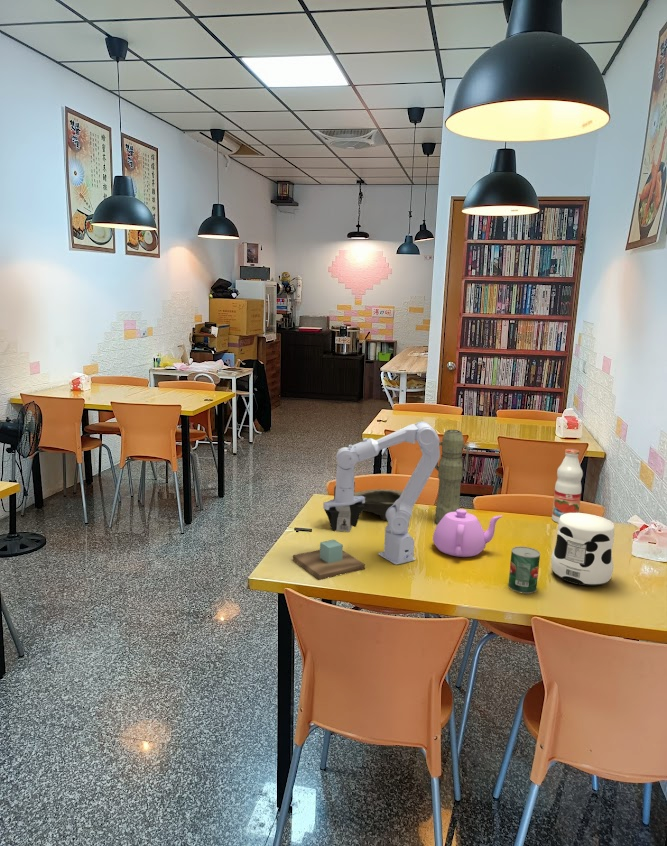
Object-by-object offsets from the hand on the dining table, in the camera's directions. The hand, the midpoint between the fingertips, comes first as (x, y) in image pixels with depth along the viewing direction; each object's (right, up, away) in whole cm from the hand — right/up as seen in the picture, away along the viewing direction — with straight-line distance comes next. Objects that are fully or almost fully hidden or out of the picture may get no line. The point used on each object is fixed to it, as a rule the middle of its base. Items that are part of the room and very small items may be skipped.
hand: (343, 527), depth 194 cm
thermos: (+39, -4, +35) cm, 53 cm away
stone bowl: (+15, -2, +45) cm, 47 cm away
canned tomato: (+51, -15, -16) cm, 56 cm away
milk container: (+71, -14, -8) cm, 73 cm away
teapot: (+40, -9, +10) cm, 43 cm away
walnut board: (-5, -10, -5) cm, 13 cm away
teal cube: (-4, -9, -5) cm, 11 cm away
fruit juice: (+85, -5, +42) cm, 95 cm away
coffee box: (0, -5, +27) cm, 28 cm away
